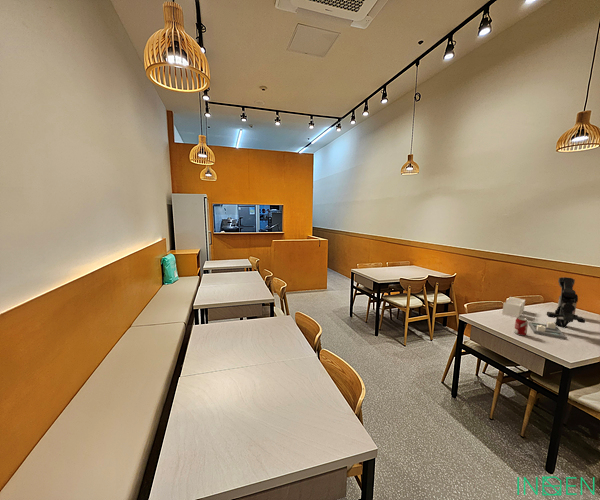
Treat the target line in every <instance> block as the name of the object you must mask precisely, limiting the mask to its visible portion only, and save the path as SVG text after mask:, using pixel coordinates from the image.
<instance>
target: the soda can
mask: <svg viewBox="0 0 600 500" xmlns="http://www.w3.org/2000/svg"><path fill="white" fill-rule="evenodd" d="M528 323H529V321H528V319H527V318H525V317H521V316H520V317H517V318H516V319H515V323H514V329H513V333H515V334H516V335H518V336H527V332H528V327H529V324H528Z"/></svg>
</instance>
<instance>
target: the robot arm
mask: <svg viewBox="0 0 600 500" xmlns="http://www.w3.org/2000/svg"><path fill="white" fill-rule="evenodd" d="M575 281H576V279H575V278H572V277H566V276H564V277H559V278H558V281H557V282H558V286H559V287H560V288H561V291H560V295H561V299H560V306H559V307H558V306H557V307H558V308H557V307H556V309H554V310H555V311H554V312H553V311H547V312H546V314H545V315H546V316H547V317H548V318H550V319H551V318H553V319H555V321H554V322H553V323H555V324H556V327H561V328H562V329H565V328H567V329H568V324H569V323H573V322H574V321H577V322H578V323H583V324H585V323H586V319H585V318H584V317H582V316H579V315H578V314H575V315H573V314H572V312H573V311H574V310H575V307H574V305H573V303H578V301H579V296H578V294H576V290H575V289H574V286H575ZM573 285H574V286H573ZM572 286H573V287H572ZM574 299H575V300H574ZM575 311H576V310H575Z"/></svg>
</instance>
